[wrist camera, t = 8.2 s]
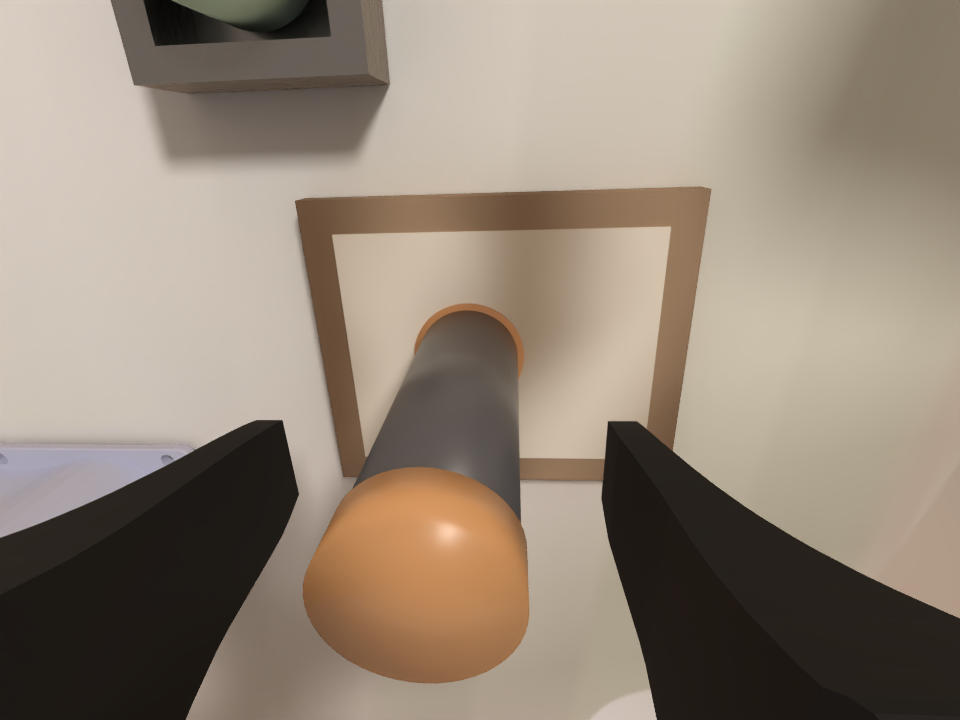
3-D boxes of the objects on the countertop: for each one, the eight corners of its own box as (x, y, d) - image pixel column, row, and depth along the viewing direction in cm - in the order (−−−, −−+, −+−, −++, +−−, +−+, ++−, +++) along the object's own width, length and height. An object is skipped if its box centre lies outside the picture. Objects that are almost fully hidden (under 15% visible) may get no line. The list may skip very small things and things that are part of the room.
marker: (421, 402, 17) (322, 679, 8) (412, 307, 15) (283, 517, 7) (520, 402, 17) (528, 687, 8) (520, 306, 15) (530, 522, 7)
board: (350, 464, 19) (341, 480, 18) (305, 198, 15) (292, 201, 14) (661, 467, 18) (669, 484, 17) (701, 186, 14) (714, 189, 13)
